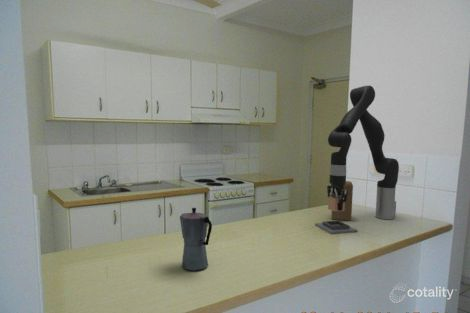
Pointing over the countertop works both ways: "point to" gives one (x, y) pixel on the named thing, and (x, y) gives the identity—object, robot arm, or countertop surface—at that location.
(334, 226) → the socket board
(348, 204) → the wooden block
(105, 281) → the countertop surface
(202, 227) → the moka pot
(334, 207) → the brick
